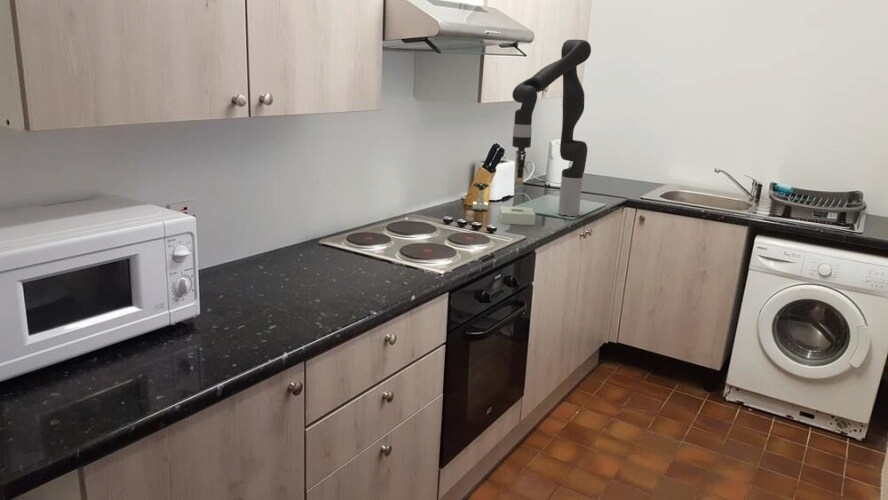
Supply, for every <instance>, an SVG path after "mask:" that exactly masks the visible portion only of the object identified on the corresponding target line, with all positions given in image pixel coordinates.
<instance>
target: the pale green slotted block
mask: <svg viewBox="0 0 888 500" xmlns="http://www.w3.org/2000/svg"><path fill="white" fill-rule="evenodd" d="M536 215H537V214H536V213H535V211H534V209H533V207H522V206H521V207H520V206H504V205H503V206H502V205H500V206H499V213H498V217H499V221H500V224H502V225H521V226H522V225H523V226H535V225H536V217H537V216H536Z"/></svg>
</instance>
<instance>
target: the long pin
mask: <svg viewBox="0 0 888 500" xmlns="http://www.w3.org/2000/svg"><path fill="white" fill-rule="evenodd" d="M518 161H519V160H518ZM520 165H522V163H520ZM517 167H518V163H517V160H516V159H515V174H514V185H516V186H523V185H524V177H525V168H524V169H523V177H522V178H518V177H517V171H518V168H517Z"/></svg>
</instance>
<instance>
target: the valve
mask: <svg viewBox="0 0 888 500" xmlns="http://www.w3.org/2000/svg"><path fill="white" fill-rule="evenodd" d="M473 187H475V188H478V197H477V198H476V200H477V201H472V211H488V208H489V207H488V206H489V203H488V201H487V202H486V201H485V198H484V197H483V195H484V192H483V191H484V190H485V189H487V188H489V187H490V184H488V183H482V182H480V183H477V182H476V183H473Z"/></svg>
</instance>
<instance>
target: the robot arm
mask: <svg viewBox="0 0 888 500" xmlns="http://www.w3.org/2000/svg"><path fill="white" fill-rule="evenodd" d="M591 53H592V46H591V44H590V43H589V42H588V41H587V40H584V39H567V40H565V41H564V43H563V44H562V47H561V54H560V55H561V58H560V59H557V60H556V61H554V62H552V63H550V64H548V65H546V66H544V67H543V68H541V69H540V70H539V71H537V72H536V73H535V74H534V75H533V76H531V77H530V78H527V79H526V80H523V81H522V82H520V83H518V84H517V85H516V86H515V87H514V89H513V90H512V93H511V94H512V99H513V101H515V102H516V103H519V104H520V103H521V106H520V108H519V109H516V110H515V113H514V120H513V121H514V123H513V129H512V132H513V133H512V145H511V146H512V147H514V148H517V150H515V161H516V160H517V163H518V167H517V168H518V171H517V177H518V178H522V177H523V169H524V170H525V163H526V156H527V152H526V150H525V149H529V148H531V144H532V134H533V133H532V130H533V129H532V121H533V112H534V111H535V107H536V104H537V101H538V92H542V91H545V90H546V88H548V87H549V86H550V85H551V84H552V83H554V82H555V81H556V80H557V79H558V78H560V77H562V120H561V121H562V124H561V125H562V126H561V136H560V145H559V156H560V158H561V159H562V160H563V161H567V162H569V161H570V162H572V163H571V166H570V167H568V168H564V169H562V170H561V177H560V178H561V179H560V180H561V181H560V189H559V199H558V200H559V201H558V209H557V210H558V212H557V214H558V213H559V214H561V215H560V216H562V215H567V216H566V217H571V216H574V217H578V215H580V207H581V197H582V187H583V177H584V172H585V170H586V163H587V157H588V145H587V143H586V142H585V141H582V140H577V139H575V140H574V130H575V127H576V125H577V124H578V122H579V120H580V119H581V117H582V115H583V113H584V111H585V90H584V88H583V86H582V83H581V81H580V79H579V76H578V70H577V68H578V67H577V66H579V65H581V64H583V63H585V62H586V61H587V60H588V59H589V57H590V56H591ZM518 160H519V161H518ZM520 163H522V165H520ZM559 214H558V215H559Z"/></svg>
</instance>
